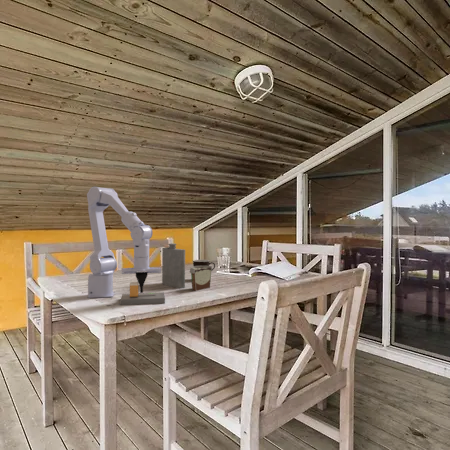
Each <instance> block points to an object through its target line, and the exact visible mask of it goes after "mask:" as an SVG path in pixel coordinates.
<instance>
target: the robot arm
mask: <svg viewBox="0 0 450 450" xmlns="http://www.w3.org/2000/svg"><path fill="white" fill-rule="evenodd" d="M86 197H87V198H86V199H87V205H88V206H87V209H88V210H87V212H88V217H89V223H90V231H91V236H92V242H93V249H94V250H93V251H94V252H93V253H91V255H90V256H89V262H90V263H89V269H90V271H91V274H89V275H88V279H87V299H88V298H89V299H90V298H92V299H95V298H113V297H114V295H115V291H114V289H113V288H114V285H113V284H114V274H115V271H116V269H117V267H118V261H117V259H116V258H115V254H114V253H115V252H114V251H112V250H111V249H109V243H108V242H109V241H108V236H107V231H106V230H107V229H106V225H105V218H104V211H105V209H107V208H108V207H109V206H110V207H111V208H112V209H113V210H114V211H115V212H116V213H117V214H118V215H119V216H120V217H121V218H120V220H121V222H122V224H123V225H124V226H125V227H126V229H128V230H129V232H130V234H129V235H130V237H131V239H132V244H133V267H126V268H125V267H124V268H121V275H127V274H129V275H130V274H135V277H136V281H138V286H139V288H140V289H139V291H140V292H139V293H144V285H145V283H146V280H147V277H148V275H149V274H162V267H150V240H151V238H152V237H153V229H152V227H151V226H150V225H148V224H145V223H144V221H142V220H141V219H140V218H139V217H138V216H137V215H138V214H137V213H136V212H133V211H129V210H128V208H127V207H126V206H125V204H124V203H123V202H122V200H121V198H119V196H118V193H117V192H116V190H115V189H114V188H112V187H99V186H92V187H90V188H89V190H88V192H87V193H86Z"/></svg>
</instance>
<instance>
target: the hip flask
mask: <svg viewBox="0 0 450 450" xmlns="http://www.w3.org/2000/svg"><path fill="white" fill-rule="evenodd" d="M176 247H177V243H168V247H165V246H164V247H162V261H161V262H162V264H161V266H162V267H161V284H162V285H164V286H167V287H172V288H177V289H185V288H186V249H182V248H176Z"/></svg>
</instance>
